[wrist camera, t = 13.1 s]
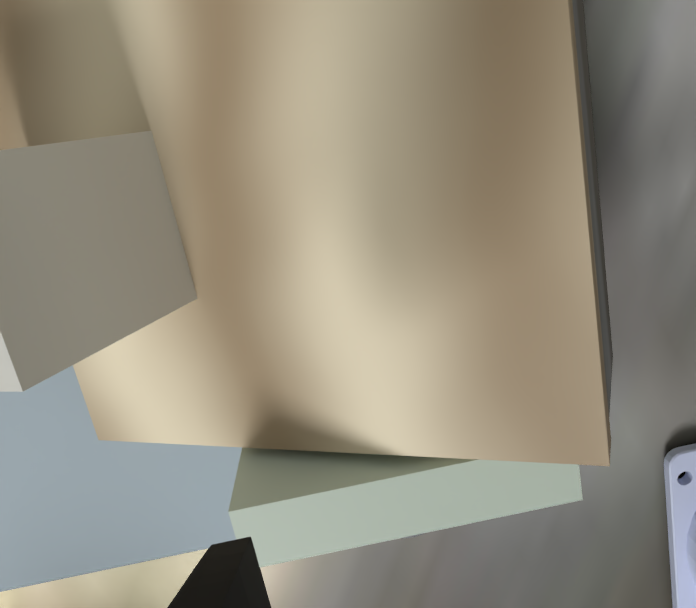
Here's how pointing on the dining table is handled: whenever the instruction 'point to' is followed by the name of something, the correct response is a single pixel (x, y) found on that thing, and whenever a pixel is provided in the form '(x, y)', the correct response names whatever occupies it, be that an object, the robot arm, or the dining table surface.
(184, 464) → the mat
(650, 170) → the dining table surface
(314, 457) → the flap stand
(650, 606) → the dining table surface
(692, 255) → the dining table surface
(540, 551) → the dining table surface
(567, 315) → the flap
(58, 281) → the light grey block
